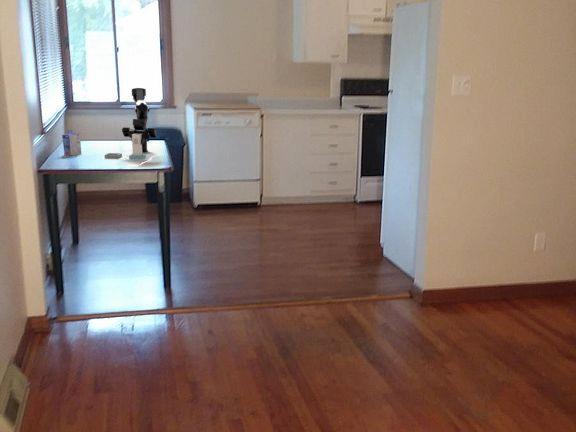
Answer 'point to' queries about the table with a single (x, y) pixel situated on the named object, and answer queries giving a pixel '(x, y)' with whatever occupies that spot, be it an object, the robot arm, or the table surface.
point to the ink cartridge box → (71, 143)
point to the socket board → (124, 157)
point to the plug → (137, 144)
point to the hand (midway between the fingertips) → (136, 144)
